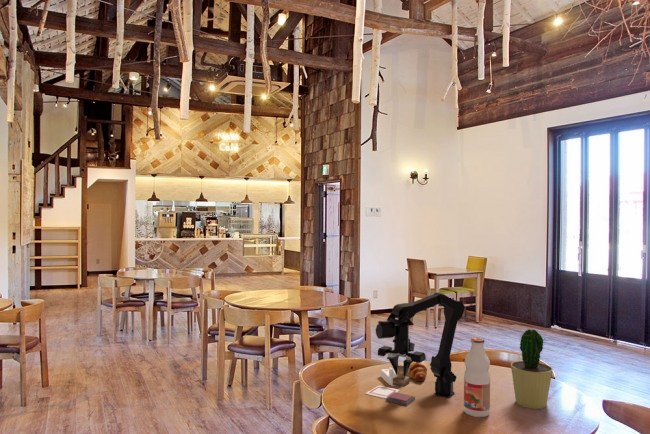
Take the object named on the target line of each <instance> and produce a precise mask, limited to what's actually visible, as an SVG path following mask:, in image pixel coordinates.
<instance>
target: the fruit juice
mask: <svg viewBox="0 0 650 434" xmlns="http://www.w3.org/2000/svg"><path fill="white" fill-rule="evenodd" d="M470 343H471V345H470V346H471V347H470V350H469V351H468V353H467V355H466V356H465V359H464V365H465V371H464V375H463V411H464V413H465V414H466V415H468V416H471V417H474V418H485V417H488V416H489V415H490V413H491V412H490V411H491V410H490V409H491V405H490V404H491V377H490V376H491V375H490V372H489V369H490V368H491V367H490V366H491V361H490V359H489V357H488V355H487V354H486V351H485V347H484V344H485V339H484V338H483V337H479V336H478V337H477V336H476V337H475V336H474V337H471V338H470Z"/></svg>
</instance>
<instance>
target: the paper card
mask: <svg viewBox="0 0 650 434" xmlns="http://www.w3.org/2000/svg"><path fill="white" fill-rule="evenodd" d="M400 391H401V390H400V389H397V388H393V387H388V386H383V385H377V386H376V387H374V388H372V389H371V390H369V391H366V392H365V395H368V396H372V397H377V398H380V399H385V400H386V398H387V397H388V396H390V395H391V394H393V393H394V392H397V393H400Z"/></svg>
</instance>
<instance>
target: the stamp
mask: <svg viewBox="0 0 650 434" xmlns="http://www.w3.org/2000/svg"><path fill="white" fill-rule="evenodd" d="M409 384H410V377H408V376H407V375H406V376H404V365H398V366H397V376H396V377H394V378H393V385H396V386H398V387H402V388H405V387H406V386H408V385H409ZM396 386H395V387H396Z"/></svg>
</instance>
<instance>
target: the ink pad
mask: <svg viewBox="0 0 650 434" xmlns="http://www.w3.org/2000/svg"><path fill="white" fill-rule="evenodd" d="M415 400H416V396H413V395H410V394H405V393H401V392H394V393H393V394H391V395H390V396H388V397H387V398H386V399H385V401H386V402H389V403H394V404H396V405H402V406H407V407H408V406H409V405H410V404H411V403H412V402H414V401H415Z"/></svg>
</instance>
